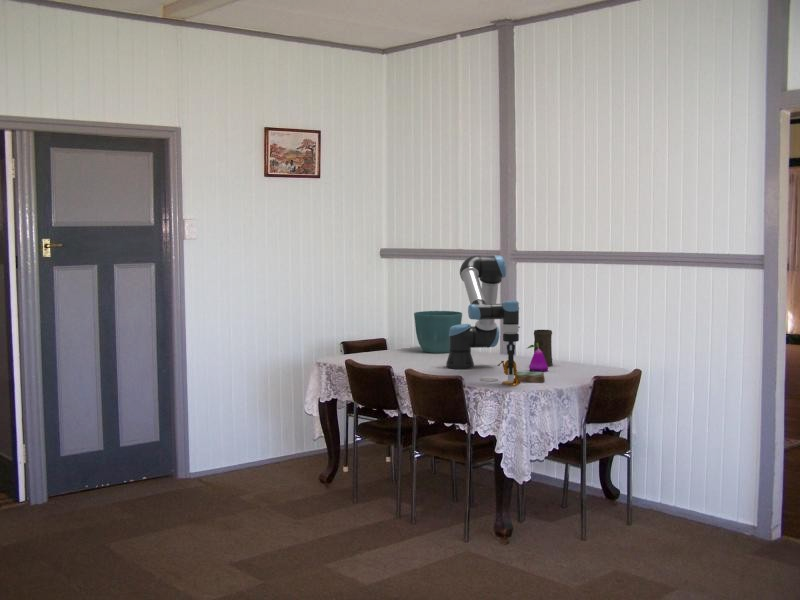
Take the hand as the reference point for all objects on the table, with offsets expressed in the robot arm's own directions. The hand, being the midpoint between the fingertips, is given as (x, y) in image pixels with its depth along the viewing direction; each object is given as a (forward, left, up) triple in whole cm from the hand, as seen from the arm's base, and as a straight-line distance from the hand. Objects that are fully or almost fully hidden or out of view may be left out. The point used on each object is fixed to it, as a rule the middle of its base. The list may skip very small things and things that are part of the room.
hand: (510, 379), depth 431 cm
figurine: (0, +2, -3) cm, 3 cm away
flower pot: (-46, +122, -3) cm, 131 cm away
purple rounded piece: (+14, +46, -3) cm, 49 cm away
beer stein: (+17, +68, -3) cm, 70 cm away
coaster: (-11, +12, -3) cm, 17 cm away
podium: (+9, +14, -2) cm, 17 cm away
